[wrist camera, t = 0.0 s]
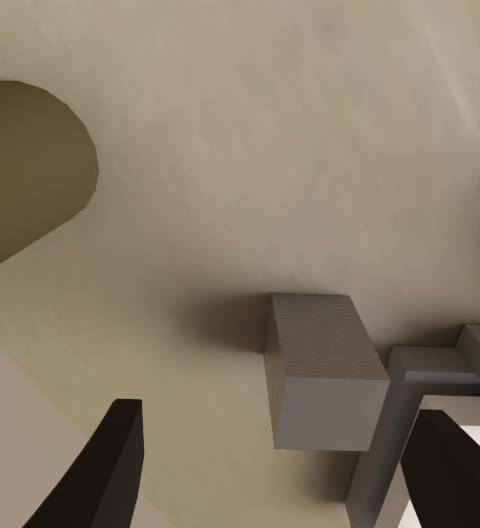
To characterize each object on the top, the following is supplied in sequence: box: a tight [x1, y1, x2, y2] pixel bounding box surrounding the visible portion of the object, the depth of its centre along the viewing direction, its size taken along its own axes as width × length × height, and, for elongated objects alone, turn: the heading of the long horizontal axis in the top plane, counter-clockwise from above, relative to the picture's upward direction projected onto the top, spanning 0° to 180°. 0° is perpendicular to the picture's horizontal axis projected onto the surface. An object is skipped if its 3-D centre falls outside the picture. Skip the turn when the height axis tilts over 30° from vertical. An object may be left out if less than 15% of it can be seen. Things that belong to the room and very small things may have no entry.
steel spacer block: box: [263, 292, 391, 451], centre depth 19 cm, size 4×4×6 cm
